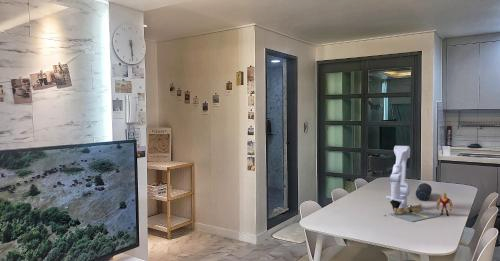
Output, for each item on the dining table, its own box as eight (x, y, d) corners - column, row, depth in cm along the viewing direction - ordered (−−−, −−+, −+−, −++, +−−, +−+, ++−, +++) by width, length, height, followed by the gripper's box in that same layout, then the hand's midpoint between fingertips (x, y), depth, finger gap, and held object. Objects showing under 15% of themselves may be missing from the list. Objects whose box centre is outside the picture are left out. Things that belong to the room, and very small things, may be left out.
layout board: (388, 214, 239) (388, 213, 239) (416, 209, 250) (416, 208, 250) (412, 222, 222) (412, 221, 222) (440, 216, 233) (440, 215, 233)
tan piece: (407, 211, 241) (407, 205, 241) (409, 212, 240) (409, 206, 240) (393, 214, 236) (393, 208, 236) (395, 214, 235) (395, 208, 235)
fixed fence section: (411, 211, 243) (411, 204, 242) (420, 209, 246) (420, 203, 246) (412, 211, 241) (412, 205, 241) (421, 209, 245) (421, 203, 245)
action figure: (435, 214, 236) (435, 192, 236) (436, 213, 239) (437, 190, 238) (452, 216, 231) (452, 193, 230) (453, 215, 234) (453, 192, 233)
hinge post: (407, 211, 242) (407, 205, 242) (410, 211, 243) (410, 204, 243) (410, 212, 240) (410, 206, 240) (413, 212, 241) (413, 205, 241)
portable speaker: (418, 193, 294) (418, 181, 294) (432, 195, 289) (432, 182, 288) (414, 200, 273) (414, 187, 272) (429, 202, 268) (429, 189, 267)
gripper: (382, 190, 243) (382, 210, 244) (399, 194, 230) (399, 215, 231) (390, 189, 246) (390, 208, 247) (407, 193, 233) (407, 213, 234)
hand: (395, 211), depth 239 cm, fingers closed
